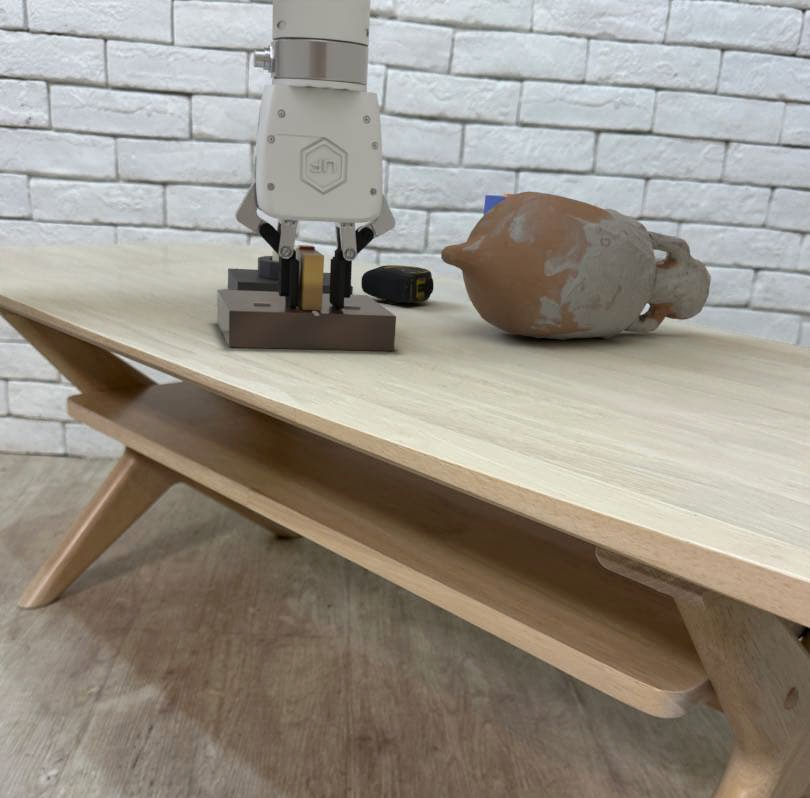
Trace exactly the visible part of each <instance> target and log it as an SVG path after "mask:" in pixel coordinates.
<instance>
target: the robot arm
mask: <svg viewBox="0 0 810 798" xmlns="http://www.w3.org/2000/svg"><path fill="white" fill-rule="evenodd" d="M370 22H371V0H272V30H271V31H272V36H271V37H272V39H271V40H273V41H270V44H269V45H268V46H267V47H263V48H253V67H254V68H260V69H261V68H262V69H263V70H264V71H267V74H270V79H271V84H264V85H263V90H262V93H261V100H260V105H259V113H258V114H259V115H258V121H257V128H256V139H255V155H254V172H253V174H254V175H253V180H252V182H251V184H250V186H249V187H248V190H247V191H246V193H245V195H244V197H243V198H242V200H241V202H240V204H239V206H238V208H237V209H236V211H235V213H234V218H235V220H236V221H237V222H238V223H240V224H241V225H243V226H244V227H246V228H247V229H249V230H251V231H252V232H253V233H255V234H257V235H259V236H260V237H261V238H262V239H263V240H264V241H265V242H266V243H267V244H268V245H269V246H270V248H271V249H272V250H273V249H274V250H275V252H276V253H277V254H278V255H279V296H285V302H286V304H287V305H288V307H289V308H296V307H298V305H299V260H297V259H296V251H295V250H294V245H295V243H296V237H297V230H298V229H297V228H298V221H302V222H324V223H327V222H328V223H334V232H335V233H334V234H335V243H336V245H335V246H336V249H335V250H334V256H332V258H330V265H329V266H330V267H329V269H330V270H329V273H330V297H329V301H330V303H331V304H332V305H333V306H334V307H336V308H337V309H344V298H350V294H351V286H352V271H353V270H352V268H353V267H352V266H353V261H354V260H355V259H356V258H357V256H358V254H360V253H361V252H362V251H363V250H364V249H365V248H366V247H367V246H368V245H369V244H370V243H371V242H372V241H373V240H374V239H376V238H378V237H380V236H382V235H384V234H386V233H388V232H389V231H391V230H393V229H394V228H395V227H396V220H395V218H394V215H393V213H392V211H391V209H390V207H389V204H388V202H387V200H386V198H385V195H384V193H383V183H384V181H383V142H382V140H383V139H382V124H381V122H382V121H381V112H380V105H379V97H378V93H377V92H371V91H368V76H369V75H368V74H369V70H368V69H369V52H370V51H369V49H370V48H369V45H370ZM258 210H259V211H261V212H262V213H263V214H265V215H266V216H268V217H270V218H273V219H277V224H276V225H277V227H276V228H275V227H274V226H273V225H272V224H271V223H269V222H268V221H266V220H265V219H263V218H262V217H261V216H259V215H258ZM360 223H361V224H363V223H364V224H363V225H360V226H358V227H357V228H356V224H360Z"/></svg>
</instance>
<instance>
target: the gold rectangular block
mask: <svg viewBox="0 0 810 798" xmlns="http://www.w3.org/2000/svg"><path fill="white" fill-rule="evenodd" d="M297 246H298V248H296V259H297V260H299V306H300V307H301V308H302V309H303V310H312V311H321V310H322V293H323V273H324V270H325V269H324V268H325V267H324V266H325V255H324V254H322V253H321V252H319V251H318V250H317V249H316V246H314V245H309V244H308V245H307V244H306V245H305V244H298V245H297Z"/></svg>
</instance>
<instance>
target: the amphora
mask: <svg viewBox="0 0 810 798" xmlns="http://www.w3.org/2000/svg"><path fill="white" fill-rule="evenodd" d="M513 194H514V195H511V196H509V197H507V198H506V199H504V200H502V201H501V202H499V203H498V204H496V205H495V206H493V207H492V208H491V209H490V210H489V211H488V212H487V213H486V214H485V215H484V214H483V215H484V216H483V215H482V217H480V219H479V220H478V222H476V223H475V225H474V227H473V228H472V230H471V231H470V233H469V235H468V237H467V240H466V241H465V242H461V243H457V244H450V245H447V246H445V247H444V248H443V249H441V252H440V253H441V255H440V259H441V260H442V262H444V263H445V264H447V265H448V266H449V265H450V266H452V267H455V268H458V269H460V270H461V273H462V279H463V283H464V286H465V291H466V293H467V296H468V299H469V300H470V302H471V304H472V306H473V307H474V309H475V311H476V312H477V313H478V315H479V316H480V317H481V318H482V319H483V320H484V321H485V322H487V323H488V324H489V325H491V326H492V327H495V328H497V329H498V330H501V331H503V332H506V333H509V334H512V335H517V336H524V337H532V338H536V339H542V338H544V339H545V338H546V339H550V340H551V339H552V340H560V341H566V340H569V339H592V338H603V339H608V338H612V337H614V336H616V335H617V334H620V333H622V332H631V333H640V334H641V333H642V334H647V333H649V332H654V331H656V330H657V329H658V328H659V327H660V325H661V324H662V323H663V321H664V320H665V319H666V318H668V319H672V320H680V321H681V320H682V321H684V320H689V319H692V318H694V317H696V316H697V315H698V314H700V313H701V312H702V310H703V308H704V306H705V305H706V303H707V300H708V298H709V294H710V285H711V281H712V277H711V273H710V272H709V271H708V269H707V267H706V266H705V263H703V262H702V261H701V260H700V259H696V258H694V257H693V256H692V255H691V249H690V246H689V244H688V242H687V241H686V240H685V239H683V238H682V237H678V236H676V235H669V234H662V233H660V232H656V231H649V230H648V229H647V227H645V226H646V225H644V224H643V223H641V222H640V221H638V220H636V219H635V218H633V217H630V216H628V215H625V214H623V213H621V212H619V211H617V210H616V209H612V208H602V207H599V206H596V205H593V204H591V203H588V202H584V201H580V200H577V199H574V198H571V197H565V196H563V195H562V196H561V195H558V194H551V193H545V192H538V191H522V192H517V193H513ZM655 251H661V252H665V255H666V256H665V257H664V259H659V260H656V255H655ZM647 304H648V305H649V308H648V310H647V311H646V312H644V313H642V312H643V311H644V309H645V308H646V306H647Z"/></svg>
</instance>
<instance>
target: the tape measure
mask: <svg viewBox="0 0 810 798" xmlns="http://www.w3.org/2000/svg"><path fill="white" fill-rule="evenodd" d="M360 283H361V284H360V285H361V289H362V291H363V293H365V295H368V296H371V297H374V298H377V299H380V300H383V301H385V302H386V303H387V304H390V305H394V304H395V305H396V304H397V303H402V304H412V303H423V302H426V301H428V300H429V299H430V297H431V295H432V293H433V292H434V279H433V277H432V272H431V271H430V270H429V269H427V268H424V267H418V266H413V265H412V266H411V265H398V264H397V265H394V264H393V265H390V264H389V265H388V264H387V265H381V266H378V267H376V268H373V269H370V270H367V271H365V272H364V273H363V274H362V276H361V282H360Z"/></svg>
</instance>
